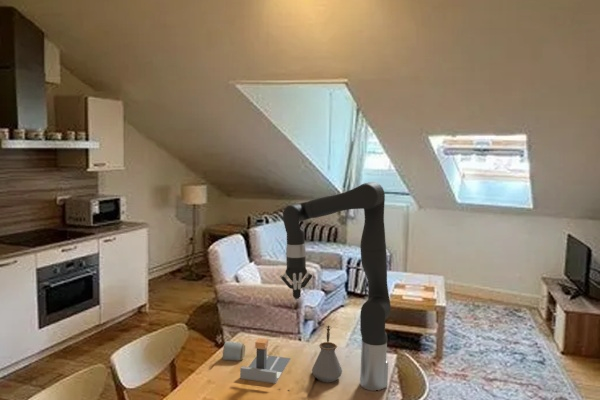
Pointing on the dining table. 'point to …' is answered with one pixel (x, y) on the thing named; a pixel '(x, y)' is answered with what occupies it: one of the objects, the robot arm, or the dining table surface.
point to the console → (265, 370)
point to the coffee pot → (327, 362)
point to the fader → (261, 353)
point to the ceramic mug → (233, 351)
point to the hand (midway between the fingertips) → (296, 298)
